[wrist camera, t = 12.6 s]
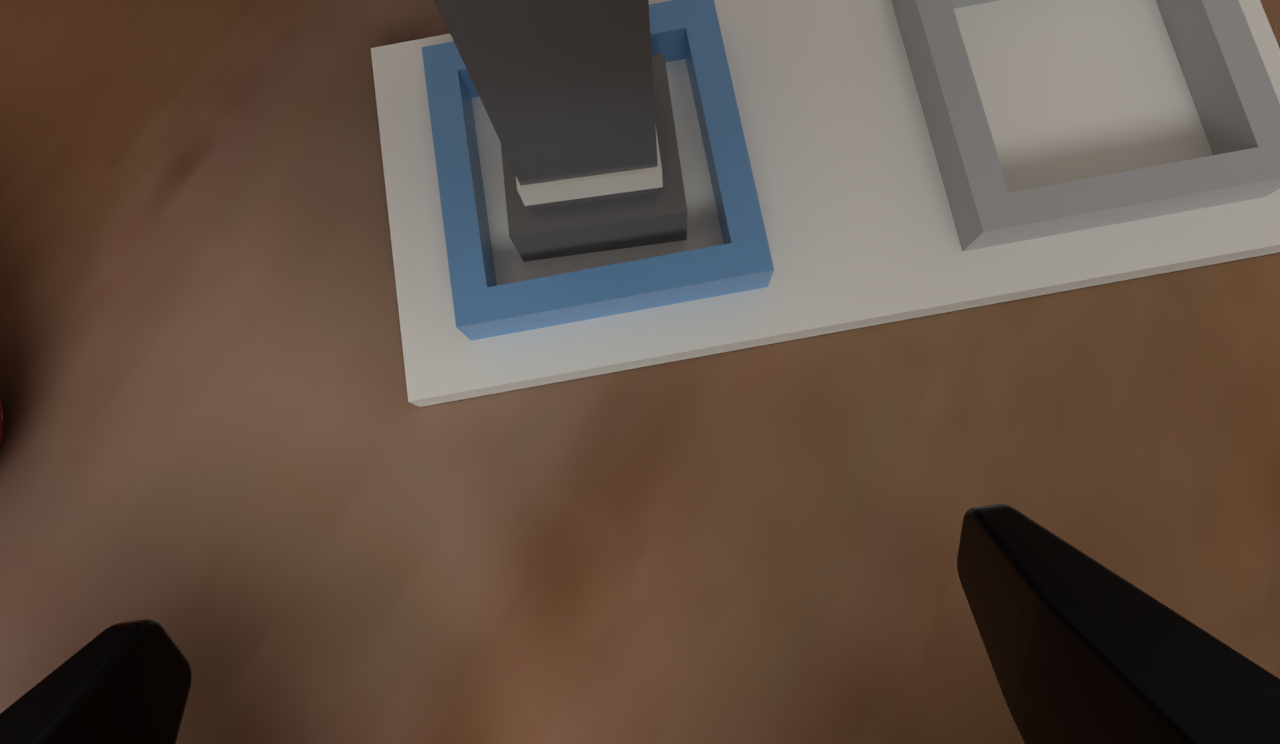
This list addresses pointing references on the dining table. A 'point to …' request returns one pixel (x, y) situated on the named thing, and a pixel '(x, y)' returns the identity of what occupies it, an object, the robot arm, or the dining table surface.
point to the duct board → (844, 178)
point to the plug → (575, 121)
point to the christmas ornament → (1, 422)
